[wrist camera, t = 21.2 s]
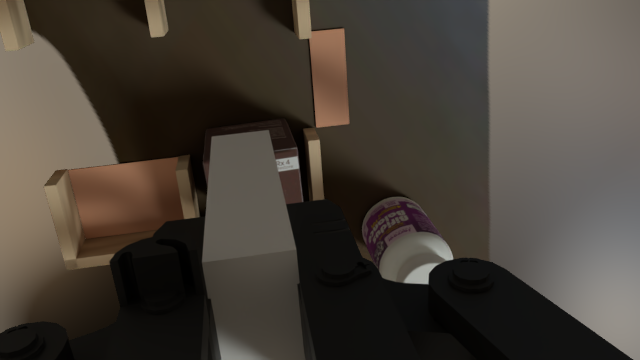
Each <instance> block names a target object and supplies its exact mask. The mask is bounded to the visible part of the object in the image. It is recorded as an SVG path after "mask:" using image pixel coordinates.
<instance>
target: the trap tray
mask: <svg viewBox="0 0 640 360" xmlns="http://www.w3.org/2000/svg"><path fill="white" fill-rule="evenodd" d="M144 1H145V7H146V12H147V18H148V23H149V29H150V34H151V37H161V36H165V34H166V33H167V31H168V24H167V18H166V12H165V6H164V0H144ZM292 9H293V21H294V32H295V34H296V35H297V37H298V38H299V39H308V38H309V41H310V54H311V67H312V80H313V92H314V105H315V118H316V128H317V127H326V126H335V125H343V124H349V109H348V91H347V73H346V55H345V36H344V28H341V29H331V30H321V31H311V22H310V9H309V0H292ZM0 33H1V36H2V40H3V44H4V47H5V50H6V51H13V50H20V49H22V48H24V47H26V46H28V45H30V44H32V43H34V39H33V35H32V31H31V28H30V24H29V20H28V16H27V12H26V8H25V4H24V1H23V0H0ZM303 134H304V146H305V157H306V169H307V180H308V191H309V201H314V200H322V199H324V191H323V178H322V165H321V152H320V140H319V138H318V136H317V133H316V131H315V129H314V128H305V129H303ZM68 173H69V174H68ZM69 177H70V178H69ZM70 180H71V181H70ZM71 184H72V185H71ZM72 188H73V189H72ZM44 190H45V193H46V197H47V200H48V204H49V208H50V211H51V214H52V218H53V222H54V225H55V229H56V232H57V236H58V240H59V243H60V247H61V250H62V254H63V257H64V261H65V265H66V268H67V270H72V269H79V268H86V267H94V266H101V265H108V264H110V263H109V261H110V260H111V258H112V257H113V256H114V254H115V253H116V252H118V251H119V250H121V249H122V248H124V247H125V246H127V245H129V244H131V243H134V242H136V241H139V240H141V239H146V238H150V237H153V234H154V233H155V232H156V231H157V230H158V229H159V228H160V227H161V226H162V225H163V224H164V223H165V222H166V221H173V220H181V219H189V218H197V217H200V212H199V206H198V200H197V195H196V189H195V183H194V177H193V171H192V165H191V159H190V155H184V156H179V157H173V158H164V159H156V160H148V161H139V162H131V163H122V164H114V165H105V166H97V167H88V168H80V169H71V170H67V169H65V170H57V171H55V172H54V174H53V175H52V176H51V178H50V179H49V180H48V181H47V183H46V184H45V186H44ZM73 192H74V193H73ZM74 196H75V197H74ZM75 200H76V201H75ZM76 204H77V205H76ZM77 207H78V208H77ZM78 211H79V212H78ZM79 215H80V216H79ZM80 219H81V220H80ZM81 223H82V224H81ZM82 227H83V228H82ZM151 230H152V231H151ZM84 234H85V235H84ZM85 238H86V239H85ZM90 238H91V239H90Z"/></svg>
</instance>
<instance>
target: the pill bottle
mask: <svg viewBox="0 0 640 360" xmlns="http://www.w3.org/2000/svg"><path fill="white" fill-rule="evenodd" d="M362 234H363V239H364V241H365V244H366V246H367V248H368V251H369V253H370V255H371V257H372V260H373V262H374V264H375V266H376V267H377V268H378V270H379V272H380V274H381V276H382V278H384V279H387V280H391V281H395V282H402V283H414V284H428V280H429V273H430V271H431V270H432V269H433V268H434V267H435V266H436V265H438V264H441V263H443V262H445V261H448V260H453V256H452V252H451V250H450V248H449V246H448V244H447V243H446V242H445V240H444V239H443V237H442V236H441V234H440V233H439V232H438V230H437V229H436V228H435V226H434V225H433V223H432V222H431V221H430V219H429V218H428V216H427V215H426V214H425V212H424V211H423V210H422V209H421V207H420V206H419V205H418V204H417V203H415V202H414V201H412V200H410V199H408V198H405V197H390V198H387V199H384V200H382V201H380V202H378V203H377V204H376V205H374V206H373V207H372V208H371V209H370V210H369V211H368V212H367V214H366V216H365V218H364V220H363V225H362Z"/></svg>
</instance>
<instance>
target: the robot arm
mask: <svg viewBox="0 0 640 360" xmlns="http://www.w3.org/2000/svg"><path fill="white" fill-rule="evenodd" d="M109 263H110V266H111V270H112V275H113V279H114V283H115V287H116V291H117V295H118V299H119V303H120V310H119V313H118V317H117V320H116V322H114V323H113V324H111V325H109V326H107V327H105V328H103V329H100V330H98V331H95V332H93V333H90V334H87V335H84V336H81V337H78V338H75V339H72V340H69V339H68V336H67V332H66V329H65V328H63V327H62V326H60V325H59V324H57V323H51V322H35V323H26V324H22V325H18V326H17V327H16V326H15V327H12V328H9V329H7V330H5V331H4V332H2V333H0V360H633V359H631V358H630V357H629V356H627V355H626V354H624V353H623V352H622V351H620V350H619V349H617V348H616V347H615V346H613V345H612V344H610V343H609V342H608V341H606V340H605V339H603V338H602V337H600V336H599V335H597V334H596V333H595V332H593V331H592V330H591V329H589V328H588V327H586V326H585V325H584V324H582V323H581V322H579V321H578V320H577V319H575V318H574V317H572V316H571V315H569V314H568V313H567V312H565V311H564V310H562V309H561V308H559V307H558V306H557V305H555V304H554V303H553V302H551V301H550V300H548V299H547V298H545V297H544V296H543V295H541V294H540V293H538V292H537V291H536V290H534V289H533V288H531V287H530V286H529V285H527V284H526V283H524V282H523V281H522V280H520V279H518V278H517V277H516V276H514V275H513V274H512V273H510V272H509V271H507V270H506V269H504V268H502V267H500V266H498V265H496V264H494V263H493V262H488V261H484V260H480V259H477V258H459V259H453V260H448V261H445V262H443V263H441V264H438V265H436V266H435V267H434V268H433V269H432V270H431V271H430V273H429V280H428V284H414V283H402V282H395V281H391V280H387V279H384V278H382V276H381V274H380V272H379V270H378V268H377V267H376V266H375V265H374V264H373V263H372V262H371V261H369V260H367V259H365V258H363V257H362V256H361V253H360V251H359V249H358V246H357V244H356V242H355V240H354V237H353V235H352V233H351V231H350V230H349V226H348V224H347V221H345V217H344V215H343V212H342V210H341V208H340V207H339V206H337V205H336V204H334V203H333V202H331V201H329V200H328V199H322V200H314V201H307V202H299V203H291V204H286V203H285V198H284V194H283V190H282V185H281V181H280V177H279V173H278V168H277V164H276V160H275V155H274V151H273V147H272V142H271V138H270V134H269V130H265V131H257V132H248V133H239V134H230V135H222V136H213V137H212V139H211V152H210V165H209V178H208V190H207V203H206V216H204V217H197V218H189V219H181V220H173V221H166V222H165V223H164V224H163V225H162V226H161V227H160V228H159V229H158V230H157V231H156V232H155V233H154V234H153V237H150V238H146V239H141V240H139V241H136V242H134V243H131V244H129V245H127V246H125V247H124V248H122V249H121V250H119V251H118V252H116V253H115V254H114V256H113V257H112V258H111V260H110V261H109Z"/></svg>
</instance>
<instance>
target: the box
mask: <svg viewBox="0 0 640 360" xmlns="http://www.w3.org/2000/svg"><path fill="white" fill-rule="evenodd" d="M265 130H269V134H270V138H271V142H272V147H273V151H274V155H275V160H276V164H277V168H278V173H279V177H280V181H281V185H282V190H283V194H284V198H285V203H286V204H291V203H299V202H303V193H302V184H301V174H300V165H299V156H298V148H297V146H296V143H295V141H294V139H293V136H292V134H291V131H290V128H289V126H288V123H287V122H286V120H285V119H284V118H282V119H275V120H267V121H260V122H253V123H245V124H238V125H231V126H224V127H217V128H210V129H206V132H205V145H204V154H203V169H204V174H205V179H206V184H207V189H208V178H209V165H210V152H211V139H212V137H213V136H222V135H230V134H239V133H248V132H257V131H265Z"/></svg>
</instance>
